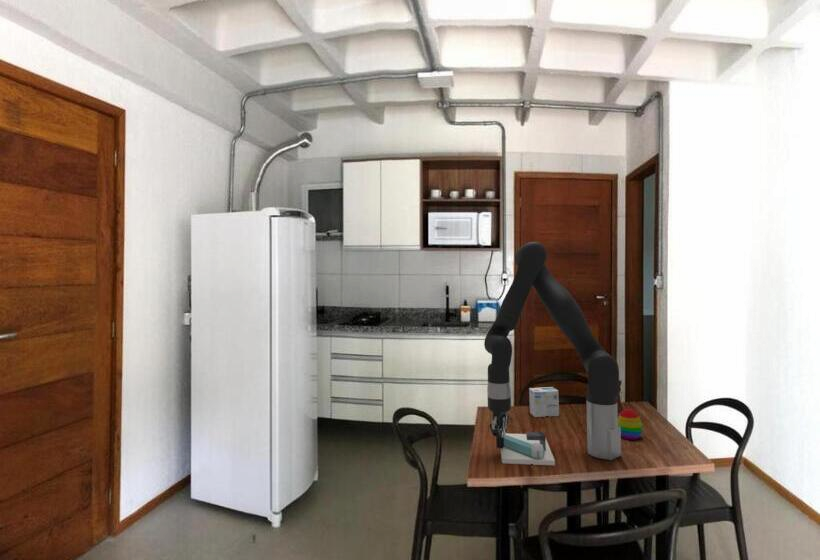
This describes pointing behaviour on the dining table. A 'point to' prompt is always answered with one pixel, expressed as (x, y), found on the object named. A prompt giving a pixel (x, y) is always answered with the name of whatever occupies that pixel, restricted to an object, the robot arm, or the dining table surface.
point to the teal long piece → (524, 447)
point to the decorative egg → (630, 424)
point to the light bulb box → (544, 402)
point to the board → (520, 458)
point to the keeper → (537, 438)
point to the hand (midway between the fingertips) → (500, 447)
